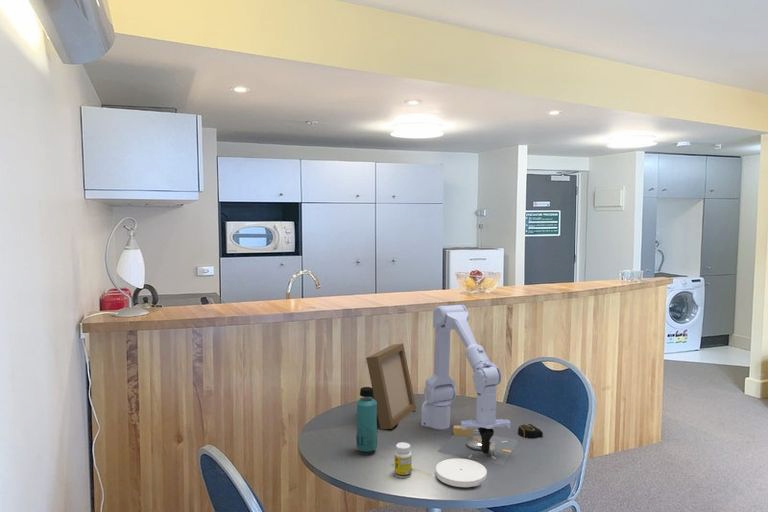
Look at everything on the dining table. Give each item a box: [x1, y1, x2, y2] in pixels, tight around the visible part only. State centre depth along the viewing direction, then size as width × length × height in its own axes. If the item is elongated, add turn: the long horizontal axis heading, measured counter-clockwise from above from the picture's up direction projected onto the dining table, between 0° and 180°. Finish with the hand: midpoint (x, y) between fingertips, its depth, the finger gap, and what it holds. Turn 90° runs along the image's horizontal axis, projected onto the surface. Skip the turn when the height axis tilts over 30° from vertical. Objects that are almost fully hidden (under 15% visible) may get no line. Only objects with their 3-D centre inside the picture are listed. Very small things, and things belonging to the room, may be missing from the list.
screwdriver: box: [452, 425, 479, 436], centre depth 176 cm, size 12×2×2 cm, turn 88°
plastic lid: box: [435, 457, 488, 488], centre depth 149 cm, size 14×14×2 cm
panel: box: [436, 432, 519, 467], centre depth 167 cm, size 20×20×1 cm
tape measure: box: [517, 423, 544, 440], centre depth 176 cm, size 7×7×4 cm
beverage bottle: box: [355, 386, 378, 452], centre depth 164 cm, size 6×7×20 cm
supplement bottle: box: [394, 441, 413, 479], centre depth 150 cm, size 5×5×8 cm
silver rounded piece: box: [466, 436, 495, 456], centre depth 165 cm, size 12×8×4 cm, turn 18°
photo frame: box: [365, 343, 417, 430], centre depth 193 cm, size 15×22×25 cm
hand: (485, 451), depth 160 cm, fingers closed, pressing on silver rounded piece
